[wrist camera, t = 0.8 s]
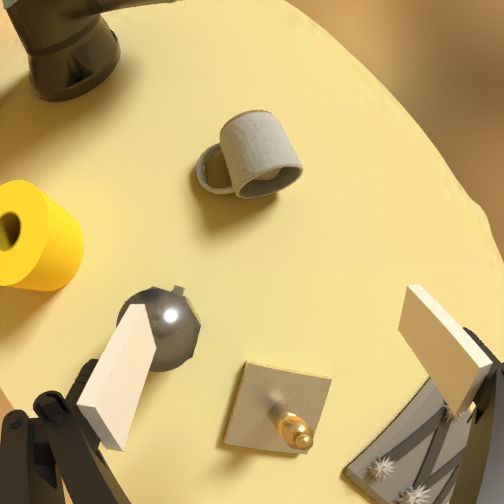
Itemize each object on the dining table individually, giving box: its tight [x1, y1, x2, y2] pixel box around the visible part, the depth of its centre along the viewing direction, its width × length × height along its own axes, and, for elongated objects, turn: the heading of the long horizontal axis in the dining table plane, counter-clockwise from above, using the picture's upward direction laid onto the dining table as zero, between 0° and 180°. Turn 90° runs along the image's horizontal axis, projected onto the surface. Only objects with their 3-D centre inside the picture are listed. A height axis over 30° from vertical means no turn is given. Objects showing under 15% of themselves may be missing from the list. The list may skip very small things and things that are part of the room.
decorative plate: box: [345, 378, 472, 504], centre depth 31 cm, size 30×22×7 cm
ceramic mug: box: [196, 110, 303, 199], centre depth 32 cm, size 11×8×8 cm
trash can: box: [116, 285, 201, 372], centre depth 25 cm, size 8×6×12 cm
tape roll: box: [0, 180, 84, 292], centre depth 25 cm, size 10×10×9 cm
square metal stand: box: [224, 361, 332, 454], centre depth 27 cm, size 10×10×10 cm
